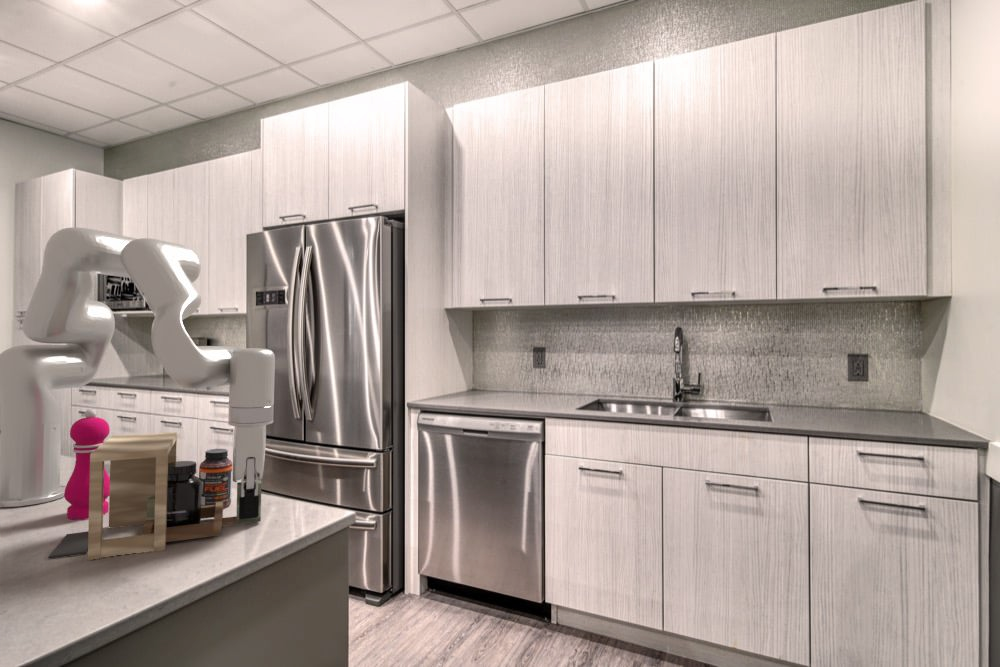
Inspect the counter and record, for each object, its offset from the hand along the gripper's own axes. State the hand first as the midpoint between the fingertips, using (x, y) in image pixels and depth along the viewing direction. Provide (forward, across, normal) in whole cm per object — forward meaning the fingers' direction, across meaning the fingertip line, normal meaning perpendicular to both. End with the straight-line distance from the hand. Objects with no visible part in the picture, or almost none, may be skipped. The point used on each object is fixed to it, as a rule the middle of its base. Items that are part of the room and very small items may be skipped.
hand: (248, 514), depth 99 cm
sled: (+1, 0, -7) cm, 7 cm away
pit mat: (+2, 0, -26) cm, 26 cm away
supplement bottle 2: (+2, -13, -6) cm, 14 cm away
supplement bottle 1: (+2, 0, -11) cm, 11 cm away
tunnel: (+2, 0, -17) cm, 17 cm away
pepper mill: (+2, -17, -27) cm, 32 cm away
